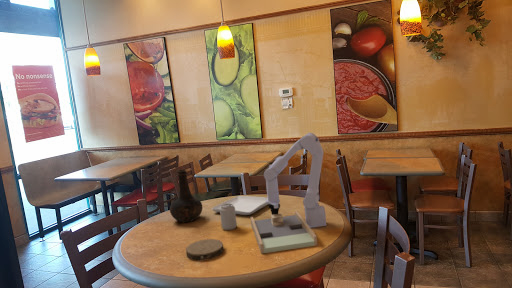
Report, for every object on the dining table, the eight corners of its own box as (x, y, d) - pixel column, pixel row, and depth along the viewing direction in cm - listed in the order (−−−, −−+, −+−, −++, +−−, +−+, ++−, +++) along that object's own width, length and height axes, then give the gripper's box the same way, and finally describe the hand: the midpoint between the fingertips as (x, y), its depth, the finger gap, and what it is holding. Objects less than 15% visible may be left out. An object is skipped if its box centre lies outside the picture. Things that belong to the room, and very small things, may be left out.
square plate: (275, 203, 228) (275, 197, 227) (250, 218, 205) (249, 211, 204) (238, 200, 242) (237, 194, 242) (210, 214, 219) (210, 207, 219)
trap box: (297, 218, 197) (296, 210, 196) (317, 245, 161) (316, 236, 161) (251, 224, 194) (250, 217, 193) (261, 253, 159) (260, 244, 158)
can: (234, 230, 188) (232, 207, 187) (220, 231, 190) (217, 207, 188) (238, 225, 196) (236, 202, 194) (224, 225, 197) (221, 203, 196)
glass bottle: (185, 213, 225) (179, 166, 221) (210, 215, 217) (204, 166, 213) (164, 223, 210) (157, 173, 206) (190, 226, 201) (184, 174, 197)
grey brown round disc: (188, 247, 173) (187, 241, 173) (223, 243, 174) (223, 237, 174) (184, 263, 158) (183, 256, 157) (223, 258, 159) (222, 251, 158)
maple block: (281, 221, 189) (280, 213, 188) (283, 224, 184) (282, 216, 183) (271, 222, 188) (270, 214, 188) (273, 226, 183) (272, 218, 183)
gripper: (262, 189, 196) (265, 214, 198) (266, 196, 182) (269, 224, 184) (276, 187, 197) (278, 213, 199) (281, 194, 183) (284, 222, 185)
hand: (275, 218), depth 191 cm, fingers closed
